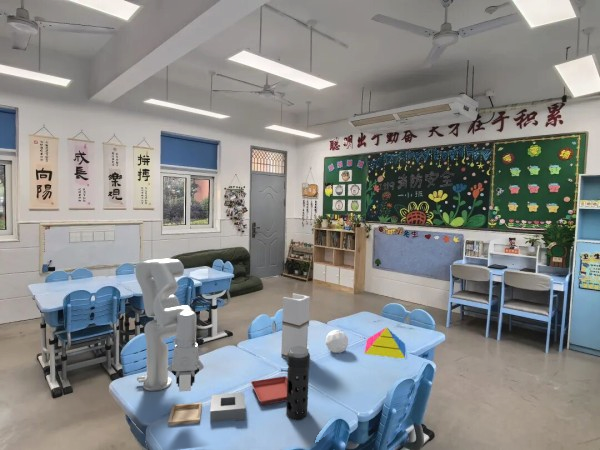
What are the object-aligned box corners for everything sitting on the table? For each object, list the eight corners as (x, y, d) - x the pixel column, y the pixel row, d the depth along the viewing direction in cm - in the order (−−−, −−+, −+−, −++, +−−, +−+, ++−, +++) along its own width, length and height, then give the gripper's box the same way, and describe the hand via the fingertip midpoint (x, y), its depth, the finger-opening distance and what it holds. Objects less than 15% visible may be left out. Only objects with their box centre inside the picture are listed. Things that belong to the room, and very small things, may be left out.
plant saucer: (250, 387, 173) (250, 380, 173) (285, 381, 179) (286, 375, 179) (259, 408, 156) (259, 401, 156) (298, 401, 162) (298, 394, 162)
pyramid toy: (407, 361, 207) (408, 337, 206) (363, 355, 213) (364, 331, 212) (405, 344, 231) (406, 322, 230) (366, 339, 237) (367, 318, 236)
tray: (168, 427, 141) (168, 422, 141) (172, 409, 153) (172, 404, 153) (199, 424, 144) (199, 419, 143) (201, 406, 155) (201, 402, 155)
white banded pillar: (308, 355, 209) (310, 296, 206) (298, 362, 200) (300, 300, 197) (291, 350, 215) (293, 293, 212) (281, 357, 206) (283, 297, 203)
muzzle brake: (300, 404, 160) (281, 412, 153) (302, 343, 157) (282, 348, 151) (314, 414, 152) (294, 423, 146) (316, 350, 150) (296, 357, 144)
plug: (179, 391, 145) (179, 372, 144) (180, 385, 150) (180, 367, 149) (190, 390, 146) (190, 372, 145) (191, 385, 150) (191, 366, 150)
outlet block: (210, 423, 144) (210, 411, 144) (211, 406, 156) (211, 394, 156) (245, 419, 147) (245, 408, 147) (243, 403, 159) (244, 392, 159)
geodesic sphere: (335, 334, 227) (329, 321, 220) (355, 340, 219) (349, 326, 212) (325, 353, 219) (318, 340, 211) (345, 360, 211) (339, 347, 203)
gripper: (162, 346, 141) (162, 391, 142) (207, 344, 144) (206, 388, 146) (165, 338, 148) (165, 381, 150) (208, 337, 151) (207, 378, 153)
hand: (185, 384), depth 148 cm, fingers closed on plug, 4 cm apart
